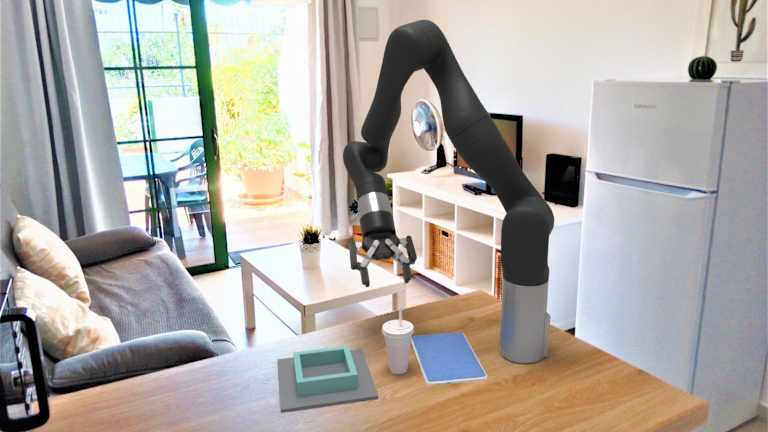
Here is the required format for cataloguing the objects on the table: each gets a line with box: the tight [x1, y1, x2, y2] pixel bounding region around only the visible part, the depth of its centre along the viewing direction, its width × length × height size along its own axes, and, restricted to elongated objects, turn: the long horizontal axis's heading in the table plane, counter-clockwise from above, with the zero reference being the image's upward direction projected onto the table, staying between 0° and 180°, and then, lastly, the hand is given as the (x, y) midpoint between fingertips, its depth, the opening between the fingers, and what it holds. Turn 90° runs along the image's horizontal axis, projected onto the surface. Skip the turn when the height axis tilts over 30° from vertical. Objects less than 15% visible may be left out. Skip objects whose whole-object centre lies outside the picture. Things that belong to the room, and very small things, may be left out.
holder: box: [277, 345, 379, 413], centre depth 114 cm, size 18×18×4 cm
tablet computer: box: [411, 331, 489, 387], centre depth 121 cm, size 19×13×1 cm, turn 8°
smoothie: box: [381, 305, 415, 375], centre depth 115 cm, size 6×6×14 cm
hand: (387, 284), depth 121 cm, fingers open, 8 cm apart
